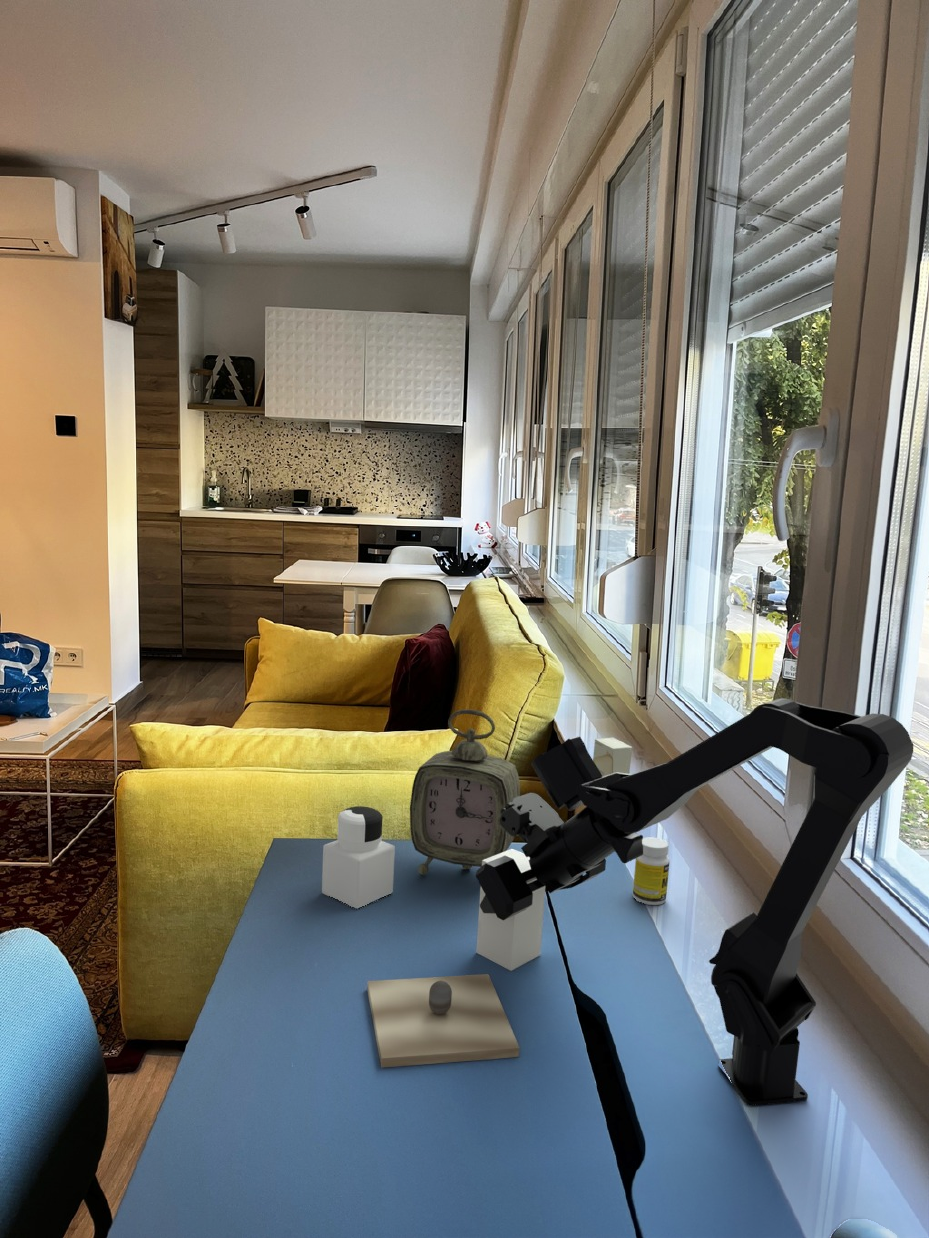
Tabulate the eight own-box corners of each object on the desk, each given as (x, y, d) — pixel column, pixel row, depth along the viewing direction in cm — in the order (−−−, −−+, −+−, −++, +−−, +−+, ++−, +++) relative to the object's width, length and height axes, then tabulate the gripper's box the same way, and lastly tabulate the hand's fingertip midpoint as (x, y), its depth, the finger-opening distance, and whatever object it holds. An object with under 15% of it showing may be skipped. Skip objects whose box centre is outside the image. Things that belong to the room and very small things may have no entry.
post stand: (519, 1056, 93) (521, 1015, 92) (381, 1067, 90) (383, 1025, 89) (487, 981, 107) (490, 945, 106) (367, 989, 104) (368, 952, 103)
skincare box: (587, 802, 169) (592, 738, 167) (608, 799, 171) (613, 736, 169) (606, 814, 163) (612, 748, 162) (627, 811, 165) (633, 746, 163)
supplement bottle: (666, 908, 128) (671, 851, 127) (631, 903, 129) (636, 846, 128) (665, 893, 133) (671, 838, 131) (632, 888, 134) (637, 833, 132)
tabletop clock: (406, 877, 133) (414, 710, 129) (427, 854, 142) (435, 696, 138) (502, 896, 129) (514, 723, 125) (518, 871, 137) (529, 708, 134)
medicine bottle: (357, 878, 132) (361, 798, 130) (393, 894, 128) (397, 811, 126) (320, 893, 127) (323, 810, 125) (356, 911, 122) (360, 825, 120)
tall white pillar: (540, 954, 113) (547, 862, 112) (510, 970, 109) (517, 875, 107) (506, 937, 117) (512, 848, 115) (476, 952, 113) (482, 860, 111)
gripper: (593, 765, 114) (519, 824, 123) (493, 797, 100) (418, 860, 109) (642, 845, 110) (562, 900, 119) (545, 890, 96) (463, 948, 105)
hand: (503, 899), depth 113 cm, fingers open, 7 cm apart
